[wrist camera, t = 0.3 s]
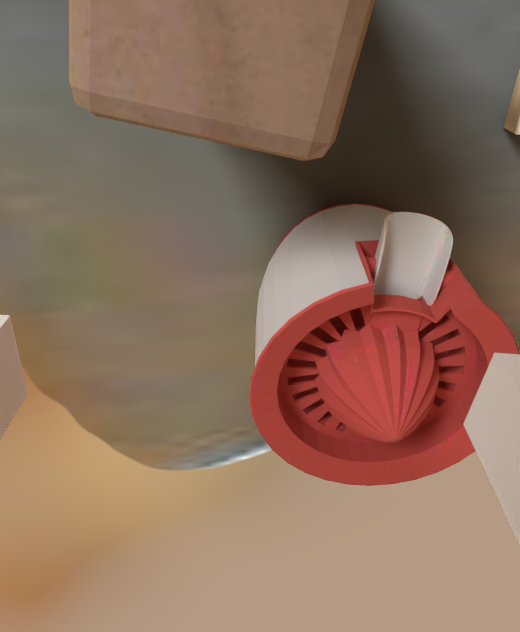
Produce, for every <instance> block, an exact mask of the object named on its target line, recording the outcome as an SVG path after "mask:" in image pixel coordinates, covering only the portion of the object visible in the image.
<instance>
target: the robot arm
mask: <svg viewBox="0 0 520 632" xmlns="http://www.w3.org/2000/svg"><path fill="white" fill-rule="evenodd" d="M27 394H28V393H27V389H26V384H25V380H24V376H23V371H22V366H21V362H20V357H19V353H18V348H17V344H16V340H15V335H14V331H13V326H12V322H11V317H10V316H9V315H0V439H1V438H2V436H3V434H4V433H5V431H6V429H7V428H8V426H9V424H10V423H11V421H12V419H13V417H14V416H15V414H16V412H17V411H18V409H19V407H20V406H21V404H22V402H23V400H24V399H25V397H26V395H27ZM463 425H464V427H465V429H466V431H467V433H468V436H469V438H470V440H471V442H472V444H473V446H474V448H475V451H476V453H477V455H478V457H479V459H480V461H481V464H482V465H483V468H484V470H485V472H486V474H487V477H488V479H489V481H490V483H491V485H492V487H493V489H494V492H495V494H496V496H497V498H498V500H499V502H500V505H501V507H502V509H503V511H504V513H505V515H506V518H507V520H508V522H509V524H510V526H511V528H512V531H513V533H514V535H515V537H516V539H517V541H518V543H519V546H520V355H519V354H506V353H494V355H493V357H492V359H491V362H490V364H489V366H488V368H487V371H486V373H485V375H484V378H483V380H482V382H481V385H480V387H479V389H478V391H477V394H476V396H475V398H474V401H473V403H472V405H471V407H470V410H469V412H468V414H467V417H466V419H465V421H464V423H463Z"/></svg>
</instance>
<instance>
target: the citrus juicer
mask: <svg viewBox="0 0 520 632" xmlns="http://www.w3.org/2000/svg"><path fill="white" fill-rule="evenodd" d="M452 245H453V236H452V233H451V231H450V229H449V228H448V227H447V226H446V225H445V224H444V223H443V222H441V221H439V220H437V219H435V218H433V217H430V216H427V215H423V214H419V213H413V212H392V211H390V210H388V209H385V208H382V207H379V206H375V205H371V204H359V203H351V204H341V205H335V206H332V207H328V208H325V209H322V210H320V211H318V212H316V213H314V214H312V215H310V216H308V217H306V218H305V219H304V220H302V221H301V222H300V223H298V224H297V225H296V226H294V227H293V228H292V229H291V230H290V231H289V233H288V234H287V235H286V236H285V237H284V238H283V239H282V241H281V242H280V244H279V246H278V248H277V249H276V251H275V253H274V255H273V257H272V259H271V260H270V262H269V264H268V267H267V270H266V272H265V275H264V278H263V281H262V284H261V287H260V291H259V298H258V307H257V318H256V350H255V369H254V371H253V374H252V377H251V386H250V397H249V398H250V404H251V410H252V416H253V418H254V421H255V423H256V425H257V427H258V430H259V432H260V434H261V436H262V437H263V438H264V439H265V441H266V442H267V443H268V445H269V446H270V447H271V449H272V450H273V451H274V452H275V453H277V454H278V455H279V456H280V457H282V458H283V459H284V460H285V461H286V462H287V463H289V464H291V465H292V466H294V467H296V468H298V469H300V470H302V471H304V472H305V473H307V474H310V475H313V476H316V477H319V478H321V479H324V480H328V481H333V482H338V483H343V484H351V485H367V486H370V485H386V484H395V483H400V482H405V481H411V480H415V479H418V478H422V477H425V476H428V475H431V474H434V473H437V472H439V471H441V470H443V469H445V468H447V467H449V466H451V465H454V464H456V463H458V462H459V461H461V460H462V459H464V458H465V457H467V456H468V455H470V454H471V453H473V452H474V451H475V448H474V446H473V444H472V442H471V440H470V438H469V436H468V433H467V431H466V429H465V427H464V425H463V423H464V421H465V419H466V417H467V414H468V412H469V410H470V407H471V405H472V403H473V401H474V398H475V396H476V394H477V391H478V389H479V387H480V385H481V382H482V380H483V378H484V375H485V373H486V371H487V368H488V366H489V364H490V362H491V359H492V357H493V355H494V353H506V354H519V351H518V348H517V345H516V342H515V339H514V336H513V334H512V333H511V331H510V330H509V328H508V327H507V325H506V324H505V322H504V321H503V320H502V318H501V317H500V316H499V315H498V314H497V313H495V312H494V311H493V310H492V309H491V308H490V307H488V306H487V305H486V304H485V303H484V302H483V301H482V300H481V299H480V298H479V296H478V295H477V293H476V292H475V291H474V289H473V288H472V286H471V285H470V284H469V282H468V281H467V279H466V278H465V277H464V275H463V274H462V272H461V271H460V270H459V268H458V267H457V265H456V264H455V263H454V261H453V260H452V258H451V257H450V255H451V250H452ZM519 355H520V354H519Z"/></svg>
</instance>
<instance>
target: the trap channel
mask: <svg viewBox="0 0 520 632" xmlns="http://www.w3.org/2000/svg"><path fill="white" fill-rule="evenodd" d="M503 127H504V128H505V129H507V130H509V131H511V132H513V133H515V134H516V135H520V69H519V72H518V76H517V80H516V83H515V87H514V90H513V94H512V97H511V101H510V105H509V108H508V112H507V115H506V119H505V123H504V126H503Z"/></svg>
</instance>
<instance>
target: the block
mask: <svg viewBox="0 0 520 632" xmlns="http://www.w3.org/2000/svg"><path fill="white" fill-rule="evenodd" d="M374 3H375V0H69V82H70V85H71V88H72V92H73V95H74V99H75V103H76V104H78V105H80V106H81V107H83V108H85V109H86V110H88V111H89V112H91V113H93V114H94V115H96V116H99V117H104V118H108V119H113V120H117V121H122V122H127V123H131V124H136V125H140V126H145V127H150V128H154V129H159V130H163V131H168V132H173V133H177V134H182V135H186V136H191V137H196V138H200V139H205V140H209V141H214V142H219V143H223V144H228V145H232V146H237V147H242V148H246V149H251V150H255V151H260V152H265V153H269V154H274V155H278V156H283V157H288V158H292V159H297V160H301V161H306V160H311V159H316V158H322V157H323V156H324V155H325V154H326V152H327V151H328V150H329V148H330V147H331V146H332V144H333V143H334V142H335V140H336V137H337V133H338V130H339V126H340V122H341V119H342V115H343V112H344V108H345V105H346V101H347V98H348V94H349V91H350V87H351V84H352V80H353V77H354V73H355V70H356V66H357V63H358V59H359V56H360V52H361V49H362V45H363V42H364V38H365V35H366V31H367V28H368V24H369V21H370V17H371V14H372V10H373V7H374Z"/></svg>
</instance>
